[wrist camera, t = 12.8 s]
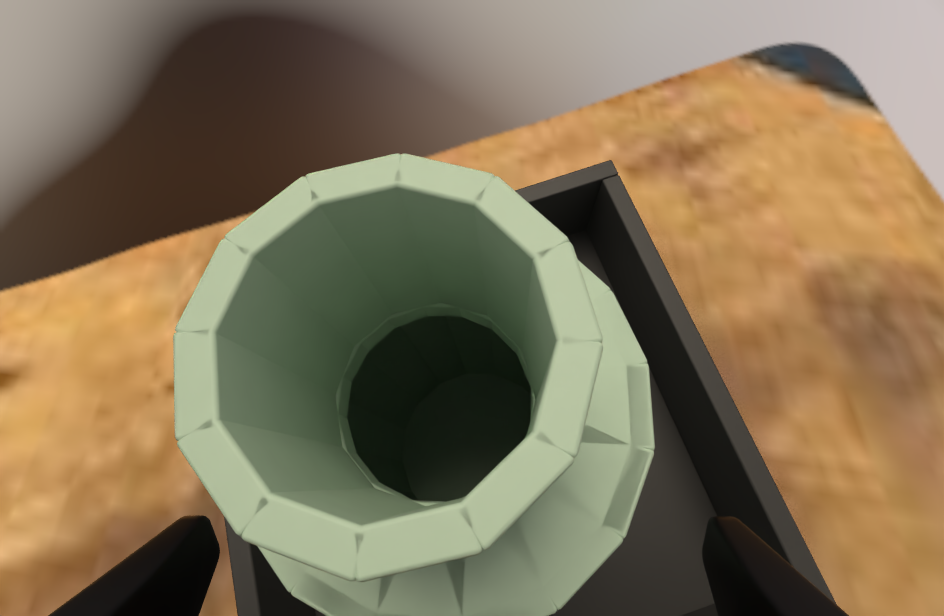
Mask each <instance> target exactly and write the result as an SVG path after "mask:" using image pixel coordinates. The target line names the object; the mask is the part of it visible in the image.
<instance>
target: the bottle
mask: <svg viewBox="0 0 944 616" xmlns="http://www.w3.org/2000/svg"><path fill="white" fill-rule="evenodd" d="M175 331H176V333H174V336H173V343H174V409H175V438H176V440H177V441H178V442H177V445H178V447H179V449H180V450H181V452H182V453H183V455H184V456H185V458H186V459H187V461H188V462H189V464H190V465H191V467H192V468H193V470H194V471H195V473H196V474H197V476H198V477H199V479H200V480H201V482H202V483H203V485H204V486H205V488H206V489H207V491H208V492H209V494H210V495H211V497H212V498H213V500H214V501H215V503H216V504H217V506H218V507H219V509H220V510H221V512H222V513H223V515H224V516H225V518H226V519H227V521H228V522H229V524H230V526H231V527H232V529H233V530H234V532H235V533H236V534H237V535H239V536H242V539H243V540H244V541H246V542H248V543H251V544H254V545H256V546H258V548H259V549H260V551H261V552H262V554H263V555H264V557H265V558H266V560H267V561H268V563H269V564H270V566H271V567H272V569H273V570H274V572H275V573H276V575H277V576H278V578H279V579H280V581H281V582H282V584H283V585H284V587H285V588H286V589H287V591H288V592H291V594H292V596H294V597H295V598H297V599H299V600H301V601H302V602H304V603H306V604H307V605H309V606H311V607H312V608H314V609H316V610H317V611H319V612H321V613H323V614H324V615H326V616H549V615H551V614H554V613H555V612H556V611H557V609H558V610H559V609H561V608H562V607H563V606H564V605H565V604H566V603H567V602H568V601H569V600H570V599H571V598H572V596H573V595H574V594H575V593H576V592H577V591H578V590H579V589H580V588H581V587H582V586H583V585H584V583H585V582H586V581H587V580H588V579H589V578H590V577H591V576H592V575H593V574H594V573H595V572H596V571H597V569H598V568H599V567H600V566H601V565H602V564H603V563H604V562H605V561H606V560H607V559H608V558H609V556H610V555H611V554H612V553H613V552H614V551H615V550H616V549H617V548H618V547H619V546H620V545H621V544H622V542H623V538H625V537H626V535H627V532H628V529H629V526H630V523H631V520H632V517H633V514H634V511H635V508H636V506H637V503H638V500H639V497H640V494H641V491H642V488H643V485H644V482H645V479H646V476H647V473H648V470H649V467H650V464H651V462H652V459H653V456H654V451H653V450H654V449H655V443H654V429H653V416H652V402H651V389H650V375H649V366H648V364H647V359H646V357H645V355H644V353H643V351H642V349H641V347H640V345H639V343H638V341H637V339H636V337H635V335H634V333H633V331H632V329H631V327H630V325H629V323H628V321H627V319H626V317H625V315H624V313H623V311H622V309H621V307H620V305H619V303H618V301H617V299H616V297H615V295H614V293H613V292H612V291H610V288H609V287H608V286H607V285H606V284H605V283H603V282H602V281H601V280H600V279H599V278H598V277H597V276H596V275H594V274H593V273H592V272H591V271H590V270H589V269H588V268H587V267H585V266H584V265H583V264H582V263H581V262H580V261H579V260H578V259H577V257H576V253H575V250H574V247H573V245H572V244H571V242H569V239H568V237H567V236H566V235H564V234H563V233H562V232H561V231H560V230H559V229H558V228H556V227H555V226H554V225H553V224H552V223H551V222H550V221H548V220H547V219H546V218H545V217H544V216H543V215H542V214H540V213H539V212H538V211H537V210H536V209H535V208H534V207H532V206H531V205H530V204H529V203H528V202H527V201H526V200H524V199H523V198H522V197H521V196H520V195H519V194H518V193H517V192H515V191H514V190H513V189H512V188H511V187H510V186H509V185H507V184H506V183H505V182H504V181H503V180H502V179H501V178H499V177H497V176H494V175H493V174H492V173H488V172H484V171H479V170H475V169H470V168H466V167H462V166H457V165H453V164H449V163H444V162H440V161H435V160H431V159H427V158H422V157H418V156H414V155H409V154H402V155H400V154H392V155H388V156H384V157H379V158H375V159H371V160H367V161H362V162H357V163H353V164H349V165H345V166H340V167H336V168H331V169H327V170H323V171H318V172H314V173H309V174H307V175H306V178H305V177H300V178H299V179H298V180H296V181H295V182H294V183H293V184H291V185H290V186H289V187H287V188H286V189H285V190H283V191H282V192H281V193H280V194H278V195H277V196H276V197H274V198H273V199H272V200H270V201H269V202H268V203H266V204H265V205H264V206H263V207H261V208H260V209H258V210H257V211H256V212H255V213H253V214H252V215H251V216H249V217H248V218H247V219H245V220H244V221H243V222H241V223H240V224H239V225H238V226H236V227H235V228H234V229H232V230H231V231H230V232H228V233H227V234H226V235H225V239H222V240H221V241H220V243H219V245H218V247H217V249H216V250H215V252H214V254H213V256H212V258H211V260H210V262H209V264H208V266H207V268H206V270H205V272H204V274H203V276H202V277H201V279H200V281H199V283H198V285H197V287H196V289H195V291H194V293H193V295H192V297H191V299H190V301H189V303H188V304H187V306H186V308H185V310H184V312H183V314H182V316H181V318H180V320H179V322H178V324H177V326H176V329H175Z"/></svg>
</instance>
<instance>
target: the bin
mask: <svg viewBox="0 0 944 616" xmlns="http://www.w3.org/2000/svg"><path fill="white" fill-rule="evenodd" d="M515 192H517V193H518V194H519V195H520V196H521V197H522V198H523V199H524V200H526V201H527V202H528V203H529V204H530V205H531V206H532V207H534V208H535V209H536V210H537V211H538V212H539V213H540V214H542V215H543V216H544V217H545V218H546V219H547V220H548V221H550V222H551V223H552V224H553V225H554V226H555V227H556V228H558V229H559V230H560V231H561V232H562V233H563V234H564V235H566V236H567V237H568V239H569V242H571V244H572V245H573V247H574V250H575V253H576V257H577V259H578V260H579V261H580V262H581V263H582V264H583V265H584V266H585V267H587V268H588V269H589V270H590V271H591V272H592V273H593V274H594V275H596V276H597V277H598V278H599V279H600V280H601V281H602V282H603V283H605V284H606V285H607V286H608V287H609V288H610V291H612V292H613V293H614V295H615V297H616V299H617V301H618V303H619V305H620V307H621V309H622V311H623V313H624V315H625V317H626V319H627V321H628V323H629V325H630V327H631V329H632V331H633V333H634V335H635V337H636V339H637V341H638V343H639V345H640V347H641V349H642V351H643V353H644V355H645V357H646V359H647V364H648V366H649V375H650V389H651V402H652V416H653V429H654V443H655V449H654V450H653V451H654V456H653V459H652V462H651V464H650V467H649V470H648V473H647V476H646V479H645V482H644V485H643V488H642V491H641V494H640V497H639V500H638V503H637V506H636V508H635V511H634V514H633V517H632V520H631V523H630V526H629V529H628V532H627V535H626V537H625V538H623V542H622V544H621V545H620V546H619V547H618V548H617V549H616V550H615V551H614V552H613V553H612V554H611V555H610V556H609V558H608V559H607V560H606V561H605V562H604V563H603V564H602V565H601V566H600V567H599V568H598V569H597V571H596V572H595V573H594V574H593V575H592V576H591V577H590V578H589V579H588V580H587V581H586V582H585V583H584V585H583V586H582V587H581V588H580V589H579V590H578V591H577V592H576V593H575V594H574V595H573V596H572V598H571V599H570V600H569V601H568V602H567V603H566V604H565V605H564V606H563V607H562V608H561V609H559V610H558V609H557V611H556V612H555V613H554V614H551V615H549V616H718V613H717V610H716V606H715V603H714V599H713V596H712V592H711V588H710V585H709V581H708V578H707V574H706V571H705V567H704V563H703V558H702V547H703V542H704V538H705V533H706V528H707V524H708V521H709V519H710V518H711V517H713V516H731V517H735V518H737V519H739V520H740V521H741V522H742V523H743V524H745V525H746V526H747V527H748V528H749V529H750V530H751V531H753V532H754V533H755V534H756V535H757V536H758V537H759V538H761V539H762V540H763V541H764V542H765V543H766V544H767V545H769V546H770V547H771V548H772V549H773V550H774V551H775V552H777V553H778V554H779V555H780V556H781V557H782V558H783V559H785V560H786V561H787V562H788V563H789V564H790V565H791V566H793V567H794V568H795V569H796V570H797V571H798V572H799V573H801V574H802V575H803V576H804V577H805V578H806V579H808V580H809V581H810V582H811V583H812V584H813V585H814V586H816V587H817V588H818V589H819V590H820V591H821V592H822V593H824V594H825V595H826V596H827V597H828V598H829V599H830V600H832V601H833V602H834V603H835V604H836V602H835V600H834V598H833V596H832V594H831V593H830V591H829V589H828V587H827V585H826V583H825V581H824V579H823V577H822V575H821V573H820V571H819V569H818V567H817V565H816V563H815V561H814V559H813V557H812V555H811V553H810V551H809V549H808V547H807V545H806V543H805V541H804V539H803V537H802V535H801V533H800V531H799V529H798V527H797V525H796V524H795V522H794V520H793V518H792V516H791V514H790V512H789V510H788V508H787V506H786V504H785V502H784V500H783V498H782V496H781V494H780V492H779V490H778V488H777V486H776V484H775V482H774V480H773V478H772V476H771V474H770V472H769V470H768V468H767V466H766V464H765V462H764V460H763V458H762V456H761V454H760V453H759V451H758V449H757V447H756V445H755V443H754V441H753V439H752V437H751V435H750V433H749V431H748V429H747V427H746V425H745V423H744V421H743V419H742V417H741V415H740V413H739V411H738V409H737V407H736V405H735V403H734V401H733V399H732V397H731V395H730V393H729V391H728V389H727V387H726V385H725V384H724V382H723V380H722V378H721V376H720V374H719V372H718V370H717V368H716V366H715V364H714V362H713V360H712V358H711V356H710V354H709V352H708V350H707V348H706V346H705V344H704V342H703V340H702V338H701V336H700V334H699V332H698V330H697V328H696V326H695V324H694V322H693V320H692V318H691V316H690V314H689V313H688V311H687V309H686V307H685V305H684V303H683V301H682V299H681V297H680V295H679V293H678V291H677V289H676V287H675V285H674V283H673V281H672V279H671V277H670V275H669V273H668V271H667V269H666V267H665V265H664V263H663V261H662V259H661V257H660V255H659V253H658V251H657V249H656V247H655V245H654V244H653V242H652V240H651V238H650V236H649V234H648V232H647V230H646V228H645V226H644V224H643V222H642V220H641V218H640V216H639V214H638V212H637V210H636V208H635V206H634V204H633V202H632V200H631V198H630V196H629V194H628V192H627V190H626V188H625V186H624V184H623V182H622V180H621V178H620V176H619V175H618V172H617V170H616V168H615V166H614V164H613V162H612V161H611V160H609V161H606V162H603V163H600V164H597V165H594V166H590V167H587V168H584V169H581V170H578V171H575V172H572V173H569V174H566V175H562V176H559V177H556V178H553V179H550V180H547V181H544V182H541V183H537V184H534V185H531V186H528V187H525V188H522V189H519V190H516V191H515ZM224 518H225V516H224ZM225 526H226V533H227V540H228V548H229V555H230V562H231V569H232V577H233V584H234V591H235V598H236V606H237V613H238V616H326V615H324V614H323V613H321V612H319V611H317V610H316V609H314V608H312V607H311V606H309V605H307V604H306V603H304V602H302V601H301V600H299V599H297V598H295V597H294V596H292V594H291V592H288V591H287V589H286V588H285V587H284V585H283V584H282V582H281V581H280V579H279V578H278V576H277V575H276V573H275V572H274V570H273V569H272V567H271V566H270V564H269V563H268V561H267V560H266V558H265V557H264V555H263V554H262V552H261V551H260V549H259V548H258V546H256V545H254V544H251V543H248V542H246V541H244V540H243V539H242V536H239V535H237V534H236V533H235V532H234V530H233V529H232V527H231V526H230V524H229V522H228V521H227V519H226V518H225ZM836 605H837V604H836Z"/></svg>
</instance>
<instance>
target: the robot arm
mask: <svg viewBox="0 0 944 616" xmlns="http://www.w3.org/2000/svg"><path fill="white" fill-rule="evenodd" d="M219 554H220V548H219V543H218V541H217V538H216V535H215V533H214V530H213V527H212V525H211V522H210V520H209V519H208V518H207V517H206V516H184V517H182V518H180V519H178V520H177V521H176V522H174V523H173V524H172V525H170V526H169V527H167V528H166V529H165V530H163V531H162V532H161V533H159V534H158V535H157V536H155V537H154V538H153V539H151V540H150V541H149V542H147V543H146V544H144V545H143V546H142V547H140V548H139V549H138V550H136V551H135V552H134V553H132V554H131V555H130V556H128V557H127V558H126V559H124V560H123V561H122V562H120V563H119V564H117V565H116V566H115V567H113V568H112V569H111V570H109V571H108V572H107V573H105V574H104V575H103V576H101V577H100V578H99V579H97V580H96V581H94V582H93V583H92V584H90V585H89V586H88V587H86V588H85V589H84V590H82V591H81V592H80V593H78V594H77V595H76V596H74V597H73V598H71V599H70V600H69V601H67V602H66V603H65V604H63V605H62V606H61V607H59V608H58V609H57V610H55V611H54V612H53V613H51V614H50V615H48V616H198V615H199V613H200V610H201V607H202V604H203V601H204V599H205V596H206V593H207V590H208V588H209V585H210V582H211V579H212V576H213V574H214V571H215V568H216V565H217V562H218V559H219ZM702 558H703V563H704V567H705V571H706V574H707V578H708V581H709V585H710V588H711V592H712V596H713V599H714V603H715V606H716V610H717V613H718V616H849V615H848V614H846V613H845V612H844V611H843V610H842V609H841V608H840V607H838V606H837V605H836V604H835V603H834V602H833V601H832V600H830V599H829V598H828V597H827V596H826V595H825V594H824V593H822V592H821V591H820V590H819V589H818V588H817V587H816V586H814V585H813V584H812V583H811V582H810V581H809V580H808V579H806V578H805V577H804V576H803V575H802V574H801V573H799V572H798V571H797V570H796V569H795V568H794V567H793V566H791V565H790V564H789V563H788V562H787V561H786V560H785V559H783V558H782V557H781V556H780V555H779V554H778V553H777V552H775V551H774V550H773V549H772V548H771V547H770V546H769V545H767V544H766V543H765V542H764V541H763V540H762V539H761V538H759V537H758V536H757V535H756V534H755V533H754V532H753V531H751V530H750V529H749V528H748V527H747V526H746V525H745V524H743V523H742V522H741V521H740V520H739V519H737V518H735V517H731V516H713V517H711V518H710V519H709V521H708V524H707V528H706V533H705V538H704V542H703V547H702Z"/></svg>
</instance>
